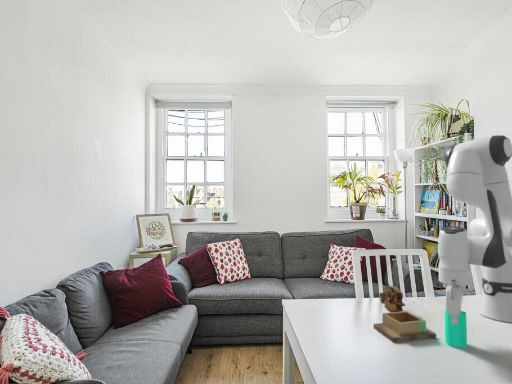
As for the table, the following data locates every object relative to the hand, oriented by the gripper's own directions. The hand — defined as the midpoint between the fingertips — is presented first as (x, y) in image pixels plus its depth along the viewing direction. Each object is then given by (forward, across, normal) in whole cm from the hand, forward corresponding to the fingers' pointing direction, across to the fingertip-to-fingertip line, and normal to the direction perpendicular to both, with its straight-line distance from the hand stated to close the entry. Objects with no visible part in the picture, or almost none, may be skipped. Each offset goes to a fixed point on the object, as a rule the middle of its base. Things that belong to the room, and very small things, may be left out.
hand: (455, 320), depth 104 cm
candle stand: (+8, 0, +16) cm, 17 cm away
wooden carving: (+8, +21, +24) cm, 33 cm away
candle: (+8, 0, 0) cm, 8 cm away
